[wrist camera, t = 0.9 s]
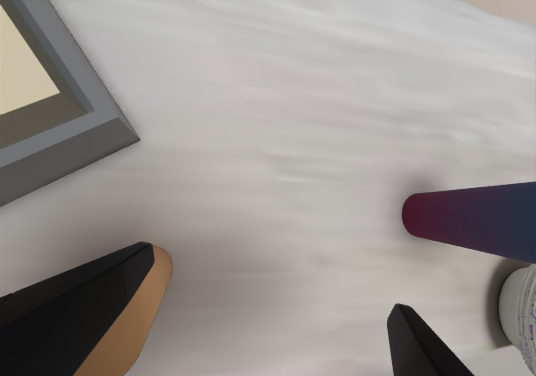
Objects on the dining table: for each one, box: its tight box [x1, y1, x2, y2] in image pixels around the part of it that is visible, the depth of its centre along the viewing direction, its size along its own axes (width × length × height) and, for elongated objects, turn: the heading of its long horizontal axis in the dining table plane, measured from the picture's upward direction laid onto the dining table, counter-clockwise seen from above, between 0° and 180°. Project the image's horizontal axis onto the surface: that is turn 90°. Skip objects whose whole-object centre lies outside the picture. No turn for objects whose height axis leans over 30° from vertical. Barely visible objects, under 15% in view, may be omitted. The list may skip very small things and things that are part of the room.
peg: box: [73, 245, 172, 376], centre depth 13 cm, size 4×4×9 cm
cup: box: [402, 182, 536, 264], centre depth 18 cm, size 7×7×15 cm
